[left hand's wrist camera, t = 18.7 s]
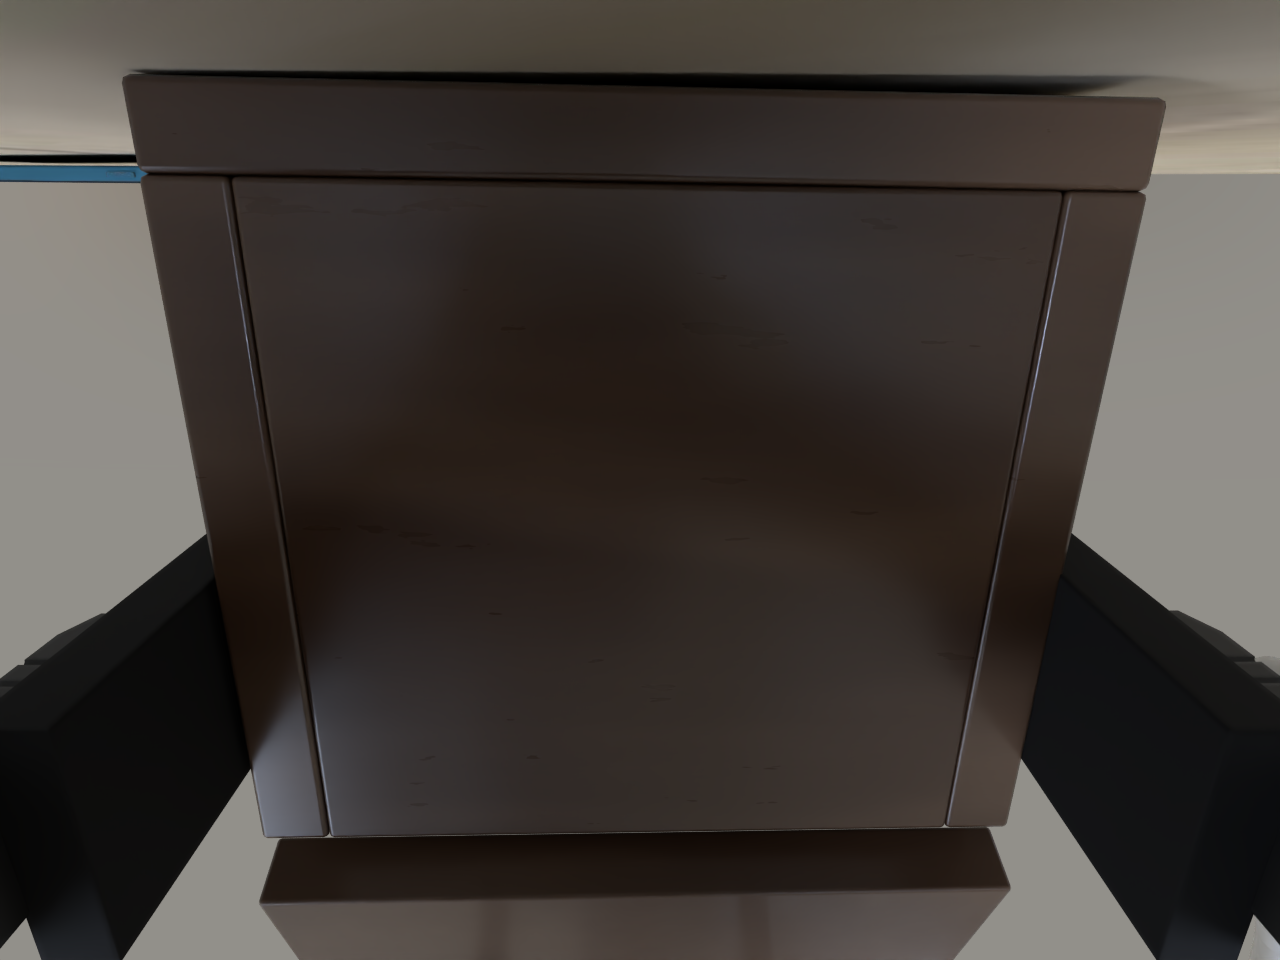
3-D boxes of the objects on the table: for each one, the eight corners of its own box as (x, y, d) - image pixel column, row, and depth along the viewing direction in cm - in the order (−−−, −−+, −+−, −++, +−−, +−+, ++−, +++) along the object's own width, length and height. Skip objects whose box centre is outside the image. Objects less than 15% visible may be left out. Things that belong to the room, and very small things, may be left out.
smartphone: (-155, 179, 26) (265, 183, 24) (-161, 160, 26) (262, 162, 23) (46, 182, 33) (383, 185, 31) (43, 167, 33) (381, 169, 31)
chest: (825, 155, 20) (794, 490, 23) (425, 148, 19) (449, 489, 22) (1171, 96, 8) (1007, 828, 11) (116, 72, 7) (261, 840, 10)
